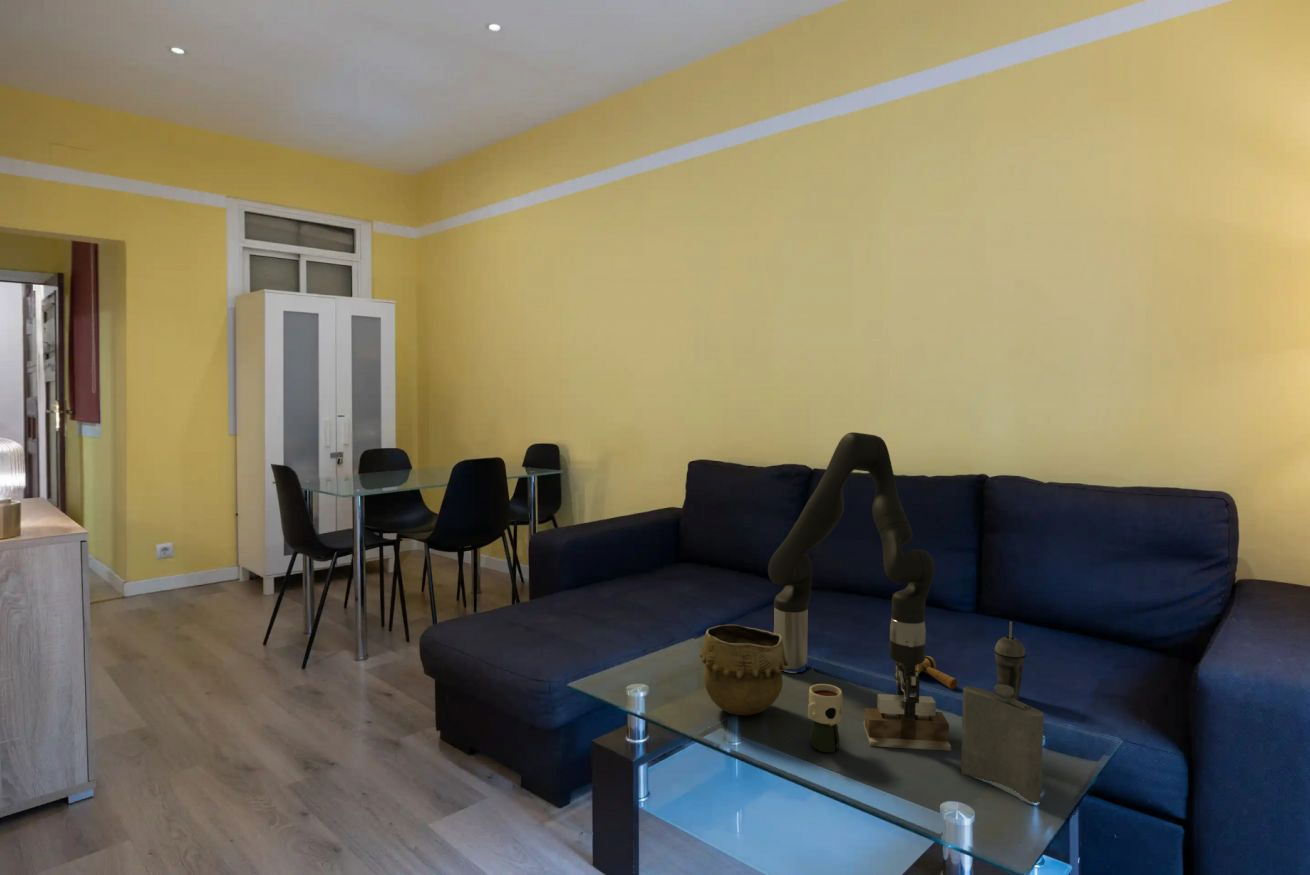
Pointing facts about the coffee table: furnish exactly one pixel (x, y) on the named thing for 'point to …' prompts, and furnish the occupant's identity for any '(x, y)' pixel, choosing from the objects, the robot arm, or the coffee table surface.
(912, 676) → the robot arm
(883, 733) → the brown wooden block
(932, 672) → the kendama
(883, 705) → the clip
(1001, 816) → the coffee table surface
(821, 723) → the character mug
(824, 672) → the coffee table surface
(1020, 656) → the beverage cup
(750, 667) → the clay pot
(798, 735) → the coffee table surface
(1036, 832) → the coffee table surface
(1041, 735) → the hip flask
